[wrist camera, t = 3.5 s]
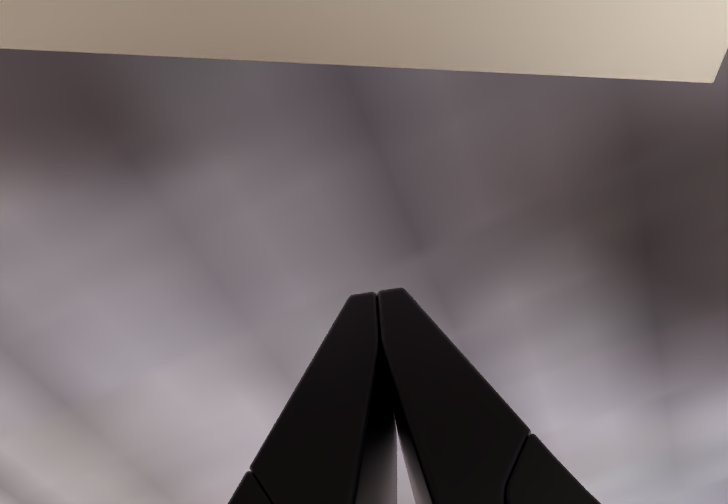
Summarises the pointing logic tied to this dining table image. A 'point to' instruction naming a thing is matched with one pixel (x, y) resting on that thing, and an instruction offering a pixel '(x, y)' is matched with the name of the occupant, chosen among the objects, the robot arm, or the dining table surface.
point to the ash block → (394, 33)
